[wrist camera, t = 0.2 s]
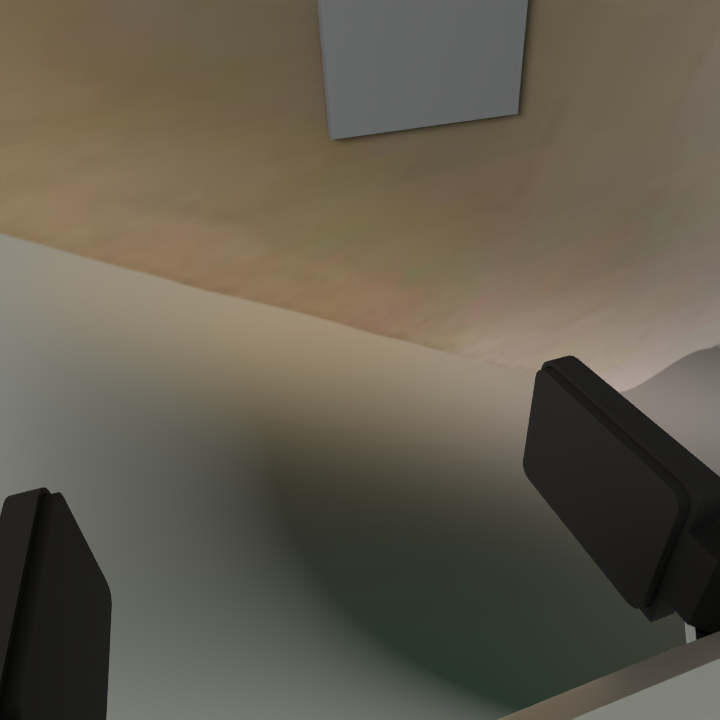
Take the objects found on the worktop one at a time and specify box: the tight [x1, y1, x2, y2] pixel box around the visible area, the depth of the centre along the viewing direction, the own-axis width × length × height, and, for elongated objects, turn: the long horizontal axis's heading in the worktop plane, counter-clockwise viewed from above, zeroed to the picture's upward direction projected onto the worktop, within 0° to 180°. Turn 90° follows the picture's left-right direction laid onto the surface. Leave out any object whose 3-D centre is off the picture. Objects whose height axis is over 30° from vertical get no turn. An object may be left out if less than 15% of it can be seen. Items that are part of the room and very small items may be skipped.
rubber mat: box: [317, 0, 528, 140], centre depth 35 cm, size 14×14×1 cm
